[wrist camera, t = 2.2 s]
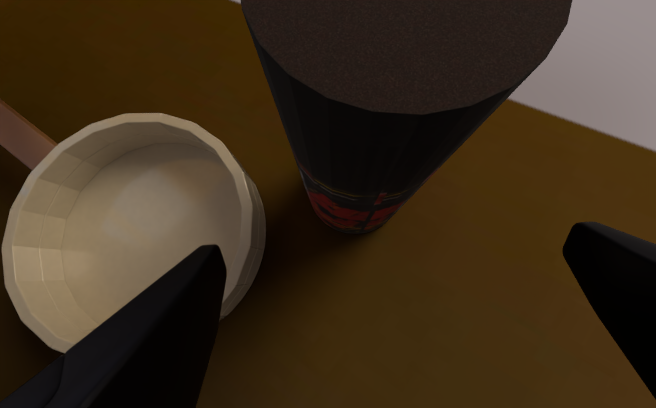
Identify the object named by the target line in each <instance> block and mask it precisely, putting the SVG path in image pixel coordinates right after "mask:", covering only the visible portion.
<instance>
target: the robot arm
mask: <svg viewBox="0 0 656 408" xmlns="http://www.w3.org/2000/svg"><path fill="white" fill-rule="evenodd" d="M563 256H564V258H565V260H566V262H567V264H568V265H569V267H570V269H571V271H572V273H573V274H574V276H575V278H576V280H577V281H578V283H579V285H580V287H581V289H582V290H583V292H584V294H585V296H586V297H587V299H588V301H589V303H590V304H591V306H592V308H593V309H594V311H595V313H596V314H597V316H598V317H599V319H600V320H601V322H602V323H603V324H604V326H605V327H606V329H607V330H608V332H609V333H610V335H611V336H612V337H613V339H614V340H615V342H616V343H617V345H618V346H619V347H620V349H621V350H622V352H623V353H624V355H625V356H626V357H627V359H628V360H629V362H630V363H631V365H632V366H633V368H634V369H635V370H636V372H637V373H638V375H639V376H640V378H641V379H642V380H643V382H644V383H645V385H646V386H647V388H648V389H649V391H650V392H651V393H652V395H653V396H654V398H655V399H656V244H654V243H651V242H648V241H645V240H643V239H640V238H637V237H635V236H632V235H629V234H627V233H624V232H621V231H619V230H616V229H613V228H611V227H608V226H605V225H603V224H600V223H597V222H579V223H576V224H575V225H574V226H573V227H572V228H571V231H570V233H569V235H568V237H567V239H566V242H565V244H564V246H563ZM226 278H227V269H226V265H225V262H224V259H223V256H222V253H221V249H220V247H219V246H218V245H216V244H210V245H201V246H200V247H198V248H197V249H196V250H194V251H193V252H192V253H191V254H189V255H188V256H187V257H185V258H184V259H183V260H182V261H180V262H179V263H178V264H177V265H175V266H174V267H173V268H172V269H170V270H169V271H168V272H166V273H165V274H164V275H163V276H161V277H160V278H159V279H158V280H156V281H155V282H154V283H152V284H151V285H150V286H149V287H147V288H146V289H145V290H144V291H142V292H141V293H140V294H138V295H137V296H136V297H135V298H133V299H132V300H131V301H130V302H128V303H127V304H126V305H125V306H123V307H122V308H121V309H119V310H118V311H117V312H116V313H114V314H113V315H112V316H111V317H109V318H108V319H107V320H105V321H104V322H103V323H102V324H100V325H99V326H98V327H97V328H95V329H94V330H93V331H91V332H90V333H89V334H88V335H86V336H85V337H84V338H83V339H81V340H80V341H79V342H78V343H76V344H75V345H74V346H72V347H71V348H70V349H69V350H67V351H66V353H65V355H61V356H60V357H58V358H57V359H56V360H55V361H53V362H52V363H51V364H49V365H48V366H47V367H46V368H44V369H43V370H42V371H41V372H39V373H38V374H37V375H35V376H34V377H33V378H31V379H30V380H29V381H27V382H26V383H25V384H24V385H22V386H21V387H20V388H18V389H17V390H16V391H14V392H13V393H12V394H10V395H9V396H8V397H7V398H5V399H4V400H2V401H1V402H0V408H196V404H197V401H198V397H199V394H200V390H201V387H202V383H203V380H204V377H205V373H206V370H207V366H208V363H209V359H210V356H211V352H212V349H213V345H214V342H215V338H216V334H217V330H218V325H219V319H220V313H221V307H222V302H223V296H224V290H225V284H226Z"/></svg>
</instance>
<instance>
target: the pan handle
mask: <svg viewBox="0 0 656 408" xmlns="http://www.w3.org/2000/svg"><path fill="white" fill-rule="evenodd" d="M0 145H2V146H3V147H4V148H5V149H6V150H8V151H9V152H10V153H11V154H12V155H14V156H15V157H16V158H17V159H19V160H20V161H21V162H22V163H23V164H25V165H26V166H27V167H28V168H30V169H31V170H32V171H33V170H34V168H35V167H36V166H37V165H38V164H39V163H40V162H41V161H42V160H43V159H44V158H45V157H46V156H47V155H48V154H49V153H50V152H51V151H52V150H53V148H54V147H55V146H58V144H57V143H56V142H54V141H53V140H52V139H51V138H49V137H48V136H47V135H45V134H44V133H43V132H42V131H40V130H39V129H38V128H37V127H35V126H34V125H33V124H31V123H30V122H29V121H28V120H26V119H25V118H24V117H23V116H21V115H20V114H19V113H17V112H16V111H15V110H14V109H12V108H11V107H10V106H9V105H7V104H6V103H5V102H3V101H2V100H1V99H0Z"/></svg>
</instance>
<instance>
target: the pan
mask: <svg viewBox="0 0 656 408" xmlns="http://www.w3.org/2000/svg"><path fill="white" fill-rule="evenodd" d="M265 240H266V219H265V213H264V208H263V204H262V201H261V198H260V195H259V192H258V190H257V187H256V185H255V183H254V182H253V180H252V179H251V178H250V176H249V175H248V173H247V172H246V171H245V169H244V168H243V166H242V165H241V164H240V162H239V161H238V160H237V159H236V157H235V156H234V155H233V154H232V153H231V152H230V150H229V149H228V148H227V147H226V146H225V145H224V143H222V142H221V141H220V140H218V139H217V138H216V137H214V136H213V135H211V134H210V133H209V132H207V131H206V130H204V129H203V128H201V127H200V126H199V125H197V124H196V123H193V122H190V121H187V120H183V119H180V118H176V117H173V116H170V115H166V114H163V113H162V114H161V113H134V114H122V115H119V116H116V117H112V118H109V119H106V120H103V121H99V122H96V123H93V124H90V125H88V126H86V127H85V128H83V129H82V130H80V131H78V132H77V133H75V134H74V135H72V136H70V137H69V138H67V139H66V140H64V141H62V142H61V143H59V144H58V146H55V147H54V148H53V150H52V151H51V152H50V153H49V154H48V155H47V156H46V157H45V158H44V159H43V160H42V161H41V162H40V163H39V164H38V165H37V166H36V167H35V168H34V170H33V171H32V172H31V173H30V174H29V176H28V177H27V179H26V181H25V183H24V185H23V187H22V188H21V190H20V192H19V194H18V196H17V198H16V199H15V201H14V203H13V205H12V207H11V209H10V212H9V216H8V221H7V225H6V230H5V234H4V239H3V243H2V248H1V249H2V260H3V271H4V282H5V286H6V287H5V288H6V290H7V292H8V294H9V296H10V298H11V300H12V303H13V305H14V307H15V309H16V311H17V313H18V315H19V317H20V319H21V321H22V322H23V323H24V324H25V325H26V326H27V327H28V328H29V329H30V330H31V331H33V332H34V333H35V334H36V335H37V336H38V337H39V338H40V339H41V340H42V341H43V342H44V343H45V344H46V345H48V346H49V347H51V348H52V349H54V350H57V351H60V352H62V353H66V351H67V350H69V349H70V348H71V347H72V346H74V345H75V344H76V343H78V342H79V341H80V340H81V339H83V338H84V337H85V336H86V335H88V334H89V333H90V332H91V331H93V330H94V329H95V328H97V327H98V326H99V325H100V324H102V323H103V322H104V321H105V320H107V319H108V318H109V317H111V316H112V315H113V314H114V313H116V312H117V311H118V310H119V309H121V308H122V307H123V306H125V305H126V304H127V303H128V302H130V301H131V300H132V299H133V298H135V297H136V296H137V295H138V294H140V293H141V292H142V291H144V290H145V289H146V288H147V287H149V286H150V285H151V284H152V283H154V282H155V281H156V280H158V279H159V278H160V277H161V276H163V275H164V274H165V273H166V272H168V271H169V270H170V269H172V268H173V267H174V266H175V265H177V264H178V263H179V262H180V261H182V260H183V259H184V258H185V257H187V256H188V255H189V254H191V253H192V252H193V251H194V250H196V249H197V248H198V247H200V246H201V245H210V244H216V245H218V246H219V247H220V249H221V253H222V256H223V259H224V262H225V265H226V269H227V278H226V284H225V290H224V296H223V302H222V307H221V313H220V319H219V322H220V321H221V320H223V319H224V318H225V317H226V316H227V315H228V314H229V313H230V312H231V311H232V310H233V309H234V308H235V307H236V306H237V304H238V303H239V302H240V301H241V300H242V299H243V297H244V296H245V294H246V293H247V291H248V289H249V288H250V286H251V285H252V283H253V281H254V279H255V276H256V274H257V272H258V269H259V267H260V264H261V261H262V257H263V253H264V248H265Z"/></svg>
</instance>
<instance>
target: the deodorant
mask: <svg viewBox="0 0 656 408" xmlns="http://www.w3.org/2000/svg"><path fill="white" fill-rule="evenodd" d="M571 3H572V0H241V5H242V11H243V13H244V16H245V19H246V22H247V25H248V27H249V30H250V33H251V36H252V39H253V42H254V44H255V47H256V50H257V53H258V56H259V58H260V61H261V64H262V67H263V70H264V73H265V75H266V78H267V81H268V84H269V87H270V89H271V92H272V95H273V98H274V101H275V104H276V106H277V109H278V112H279V115H280V118H281V120H282V123H283V126H284V129H285V132H286V135H287V137H288V140H289V143H290V146H291V149H292V151H293V154H294V157H295V160H296V163H297V166H298V168H299V171H300V174H301V177H302V180H303V182H304V185H305V188H306V191H307V194H308V196H309V199H310V202H311V204H312V206H313V209H314V211H315V213H316V214H317V215H318V216H319V218H320V219H321V220H322V221H323V222H324V223H325V224H327V225H328V226H330V227H331V228H333V229H335V230H337V231H340V232H343V233H349V234H361V233H366V232H371V231H373V230H375V229H377V228H379V227H381V226H382V225H383V224H384V223H385V222H387V221H388V220H389V219H390V218H391V217H392V216H393V215H394V214H395V213H396V212H397V211H398V210H399V209H400V208H401V207H402V206H403V205H404V204H405V203H406V201H407V200H408V199H409V198H410V197H411V196H412V195H413V194H414V193H415V192H416V191H417V190H418V189H419V188H420V187H421V186H422V185H423V184H424V183H425V182H426V181H427V180H428V179H429V178H430V177H431V176H432V175H433V174H434V173H435V172H436V171H437V170H438V169H439V168H440V167H441V165H442V164H443V163H444V162H445V161H446V160H447V159H448V158H449V157H450V156H451V155H452V154H453V153H454V152H455V151H456V150H457V149H458V148H459V147H460V146H461V145H462V144H463V143H464V142H465V141H466V140H467V139H468V138H469V137H470V136H471V135H472V134H473V133H474V132H475V131H476V129H477V128H478V127H479V126H480V125H481V124H482V123H483V122H484V121H485V120H486V119H487V118H488V117H489V116H490V115H491V114H492V113H493V112H494V111H495V110H496V109H497V108H498V107H499V106H500V105H501V104H502V103H503V102H504V101H505V100H506V99H507V98H508V97H509V96H510V95H511V93H512V92H513V91H514V90H515V89H516V88H517V87H518V86H519V85H520V84H521V83H522V82H523V81H524V80H525V79H526V78H527V77H528V76H529V75H530V74H531V73H532V72H533V71H534V70H535V69H536V68H537V67H538V66H539V65H540V64H541V63H542V62H543V61H544V60H545V59H546V57H547V56H548V54H549V52H550V51H551V49H552V48H553V46H554V44H555V43H556V41H557V39H558V38H559V36H560V35H561V33H562V31H563V30H564V28H565V26H566V25H567V22H568V17H569V13H570V8H571Z"/></svg>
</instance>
